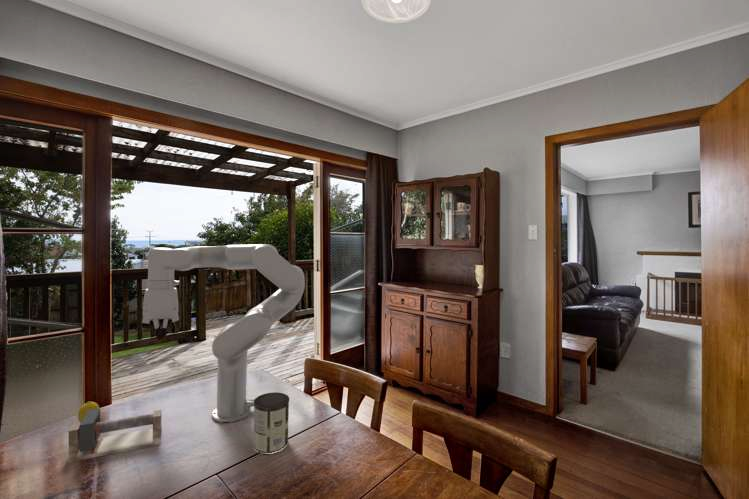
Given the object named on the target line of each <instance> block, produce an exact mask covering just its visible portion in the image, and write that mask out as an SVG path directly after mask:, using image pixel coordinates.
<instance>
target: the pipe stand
mask: <svg viewBox="0 0 749 499" xmlns="http://www.w3.org/2000/svg"><path fill="white" fill-rule="evenodd" d="M80 424H81V423H80V422H77V423H72V425H71V427H70V429H69V430H68V456H67V457H66V459H65V463H73V462H77V461H81V460H86V459H91V458H97V457H102V456H107V455H113V454H117V453H122V452H127V451H133V450H137V449H142V448H143V449H144V448H147V447H153V446H154V447H155V446H159V445H160V444H161V438H162V432H163V427H162V409H159V410H153V413H150V414H143V415H136V416H130V417H125V418H119V419H118V418H117V419H112V420H107V421H100V422H97V423H95V425H94V435H96V434H100V435H101V434H105V433H110V432H117V431H122V430H127V429H133V428H139V427H145V426H149V425H152V428H148V429H143V430H136V431H131V432H126V433H121V434H120V433H119V434H114V435H108V436H103V437H99V438H98V440H97V442H96V444H95V447H94V449H93V450H89V451H84V452H80Z"/></svg>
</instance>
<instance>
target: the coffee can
mask: <svg viewBox="0 0 749 499" xmlns="http://www.w3.org/2000/svg"><path fill="white" fill-rule="evenodd" d="M289 404H290V396H289V395H288V394H285V393H282V392H275V391H274V392H267V393H263V394H261V395H258V396H257V397H255V400H254V406H253V446H254V448H253V450H254V449H255V450H256V451H258V452H260V453H272V452H275V451H279V450H281V449H282V448H284V447H285V446H286V445H287V443H288V444H289V415H290V414H289V412H290V411H289ZM255 450H254V451H255Z"/></svg>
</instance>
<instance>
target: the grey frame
mask: <svg viewBox="0 0 749 499" xmlns="http://www.w3.org/2000/svg"><path fill="white" fill-rule="evenodd" d="M97 422H101V408H99V409H94V410H88V411H87V413H86V415H85V416H84V418H83V420H82V422H81V424H80V452H84V451H89V450H93V449H94V447H95V444H96V442H97V440H98V438H100V435H101V433H100V434H96V435H94V425H95V423H97Z"/></svg>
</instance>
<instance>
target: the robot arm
mask: <svg viewBox="0 0 749 499" xmlns="http://www.w3.org/2000/svg"><path fill="white" fill-rule="evenodd" d="M147 254H148V255H147V258H148V259H147V288H146V289H145V290H144V295H143V296H144V297H143V302H142V304H143V305H142V321H141V323H142V324H147V325H148V324H149V325H151V326H152V327H153V328H154V329H155V338H157V341H164V339H165V337H167V327H169V325H170V324H171V323H174V322H178V321H179V320H180V315H179V309H180V308H179V293H178V288H177V287H175V286H179V285H180V280H175V271H181V272H185V271H186V272H187V271H190V270H193V269H196V268H198V269H199V268H222V269H226V270H232V271H234V270H235V271H236V270H257V271H258V272H259V273H260V274H262V275H263V276H264V278H266V279H267V280H268V281H270V282H271V283H272V284H274V285H275V286H276V287H277V288H278V289H277V290H276V291H275V292H274V293H272V294H271V295H270V296H268V298H266V299H264V300H263V301H262V302H261V303H258V304H257V305H256V306H254V307H252V308H251V309H249V310H248V311H247V312H246V314H244V316H243V317H242V318H241V319H239V320H238V321H236V322H235V323H230V324H227V325H225V326H224V327H223V328H222V329H220V331H219V332H218V333H217V335H216V336H215V338H214V339H213V342H212V344H211V351H212V354H213V356H214V358H216V359H217V372H216V373H217V374H216V375H217V376H216V377H217V379H216V380H217V381H216V382H217V384H216V408H214V409H213V410H212V411H211V418H212V420H213V421H216V422H217V421H218V423H222V422H229V423H235V422H238V420H239V421H241V420H243V418H244V419H246V418H247V417H248V416H249V415H250V413H251V410H252V408H254V400H255V399H256V397H255V398H251V399H249V398H248V397H247V374H248V373H247V372H248V370H247V369H248V366H247V365H248V351H249V350H250V349H251V348H252V347H254V346H255V345H257V344H258V343H260V342H261V341H262V340H263V339H264V338H266V336H268V335H269V332H270V331H271V329H272V326H273V325H275V324H276V323H277V322H278V321H279V320H281V319H283V317H285V316H286V315H287V314H288V313H289V312H291V311H292V310H293V309H294V308H296V306H297V305H298V304H299V303H300V301H301V299H302V296H303V294H304V291H305V285H306V282H305V274H304V271H303V269H302V268H301V267H299V266H298V265H294V264H291V263H290V262H289V261H287V259H285V258H284V257H283V256H282V255H281V254H280V253H279V252H278V250H277V248H276V247H275V246H274V245H272V244H267V243H264V244H263V243H260V244H259V243H257V244H256V243H253V244H227V245H214V246H186V247H180V248H171V247H151V248H150V249H149V250H148V252H147ZM160 320H163V324H162V325H160ZM251 407H252V408H251ZM234 421H235V422H234Z"/></svg>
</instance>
